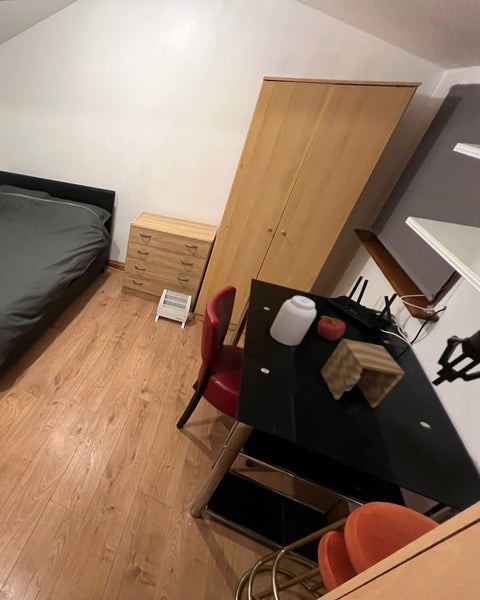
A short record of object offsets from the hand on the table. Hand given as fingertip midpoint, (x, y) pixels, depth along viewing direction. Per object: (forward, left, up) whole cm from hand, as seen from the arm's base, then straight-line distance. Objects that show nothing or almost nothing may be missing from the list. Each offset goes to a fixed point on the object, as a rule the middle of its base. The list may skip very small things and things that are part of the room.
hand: (436, 382), depth 99 cm
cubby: (+16, +3, -19) cm, 25 cm away
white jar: (+46, +1, -19) cm, 50 cm away
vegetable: (+41, -19, -19) cm, 49 cm away
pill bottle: (+17, +4, -19) cm, 26 cm away
